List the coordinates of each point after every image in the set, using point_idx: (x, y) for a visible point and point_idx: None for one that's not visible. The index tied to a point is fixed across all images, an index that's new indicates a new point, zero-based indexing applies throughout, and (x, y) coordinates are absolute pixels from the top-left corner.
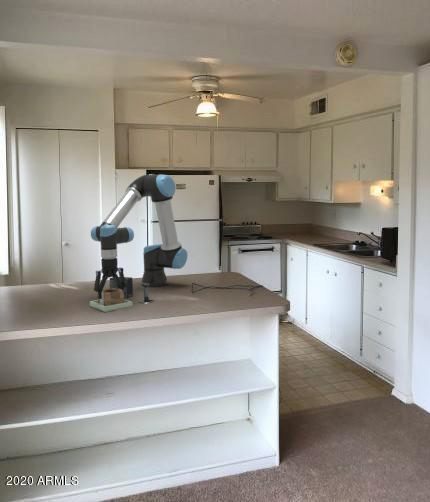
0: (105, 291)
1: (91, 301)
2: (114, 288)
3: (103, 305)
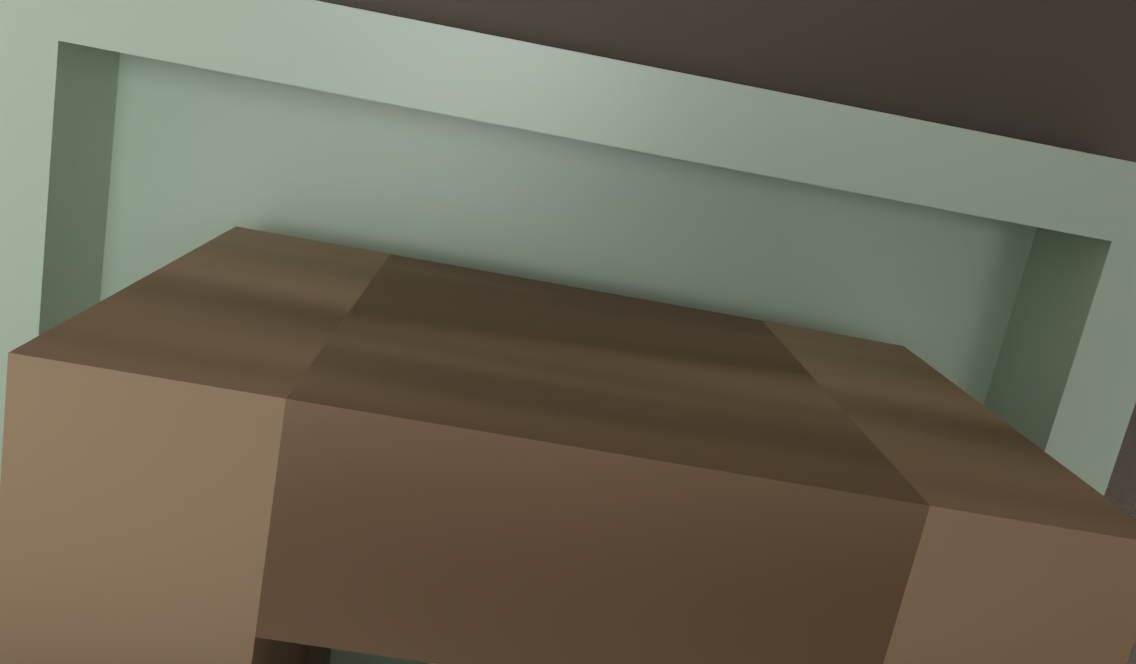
0: (405, 623)
1: (24, 21)
2: (1088, 646)
3: None
